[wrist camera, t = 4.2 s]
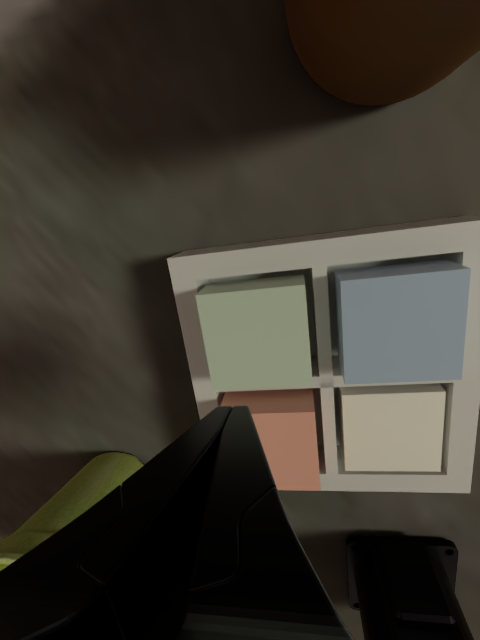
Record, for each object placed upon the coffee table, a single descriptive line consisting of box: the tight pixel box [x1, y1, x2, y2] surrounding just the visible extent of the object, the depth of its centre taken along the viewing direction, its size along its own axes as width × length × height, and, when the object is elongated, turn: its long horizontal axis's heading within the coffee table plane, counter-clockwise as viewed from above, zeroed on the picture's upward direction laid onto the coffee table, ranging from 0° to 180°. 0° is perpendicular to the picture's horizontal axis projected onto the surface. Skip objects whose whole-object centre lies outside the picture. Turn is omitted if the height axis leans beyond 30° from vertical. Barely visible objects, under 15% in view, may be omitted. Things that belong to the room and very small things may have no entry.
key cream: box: [337, 383, 446, 472], centre depth 16 cm, size 4×4×2 cm
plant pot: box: [0, 452, 144, 571], centre depth 19 cm, size 9×9×9 cm
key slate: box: [334, 259, 471, 385], centre depth 14 cm, size 4×4×2 cm
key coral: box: [221, 388, 321, 491], centre depth 16 cm, size 4×4×2 cm
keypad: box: [167, 215, 480, 493], centre depth 17 cm, size 13×13×3 cm
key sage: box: [195, 274, 313, 390], centre depth 15 cm, size 4×4×2 cm
